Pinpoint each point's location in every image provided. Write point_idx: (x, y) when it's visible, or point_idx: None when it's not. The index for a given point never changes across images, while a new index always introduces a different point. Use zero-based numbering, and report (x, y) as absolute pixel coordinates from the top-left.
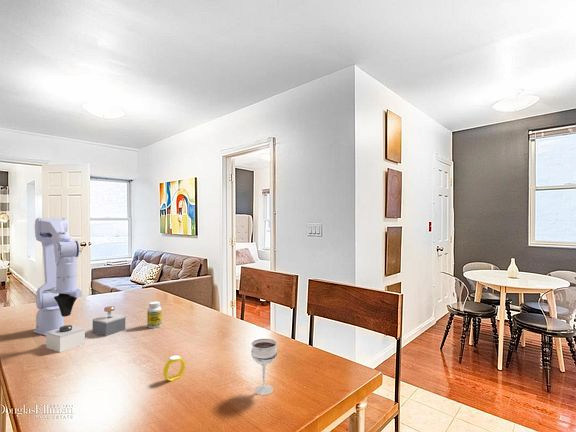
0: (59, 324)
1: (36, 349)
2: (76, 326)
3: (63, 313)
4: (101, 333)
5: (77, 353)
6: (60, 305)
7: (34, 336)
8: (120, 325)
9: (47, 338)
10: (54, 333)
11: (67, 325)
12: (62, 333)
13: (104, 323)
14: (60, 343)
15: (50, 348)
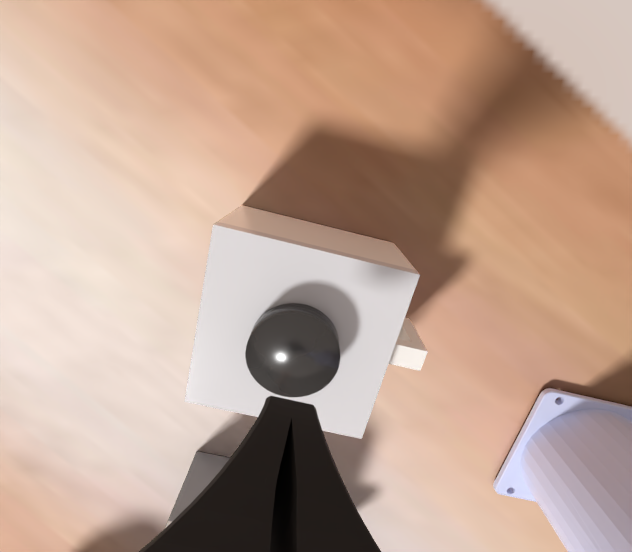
0: (545, 486)
1: (433, 209)
2: None
3: (258, 416)
4: None
5: (122, 216)
6: (293, 516)
7: (622, 370)
8: None
9: (390, 256)
10: (320, 264)
11: (312, 387)
12: (252, 278)
13: None
14: (228, 216)
15: (345, 231)
